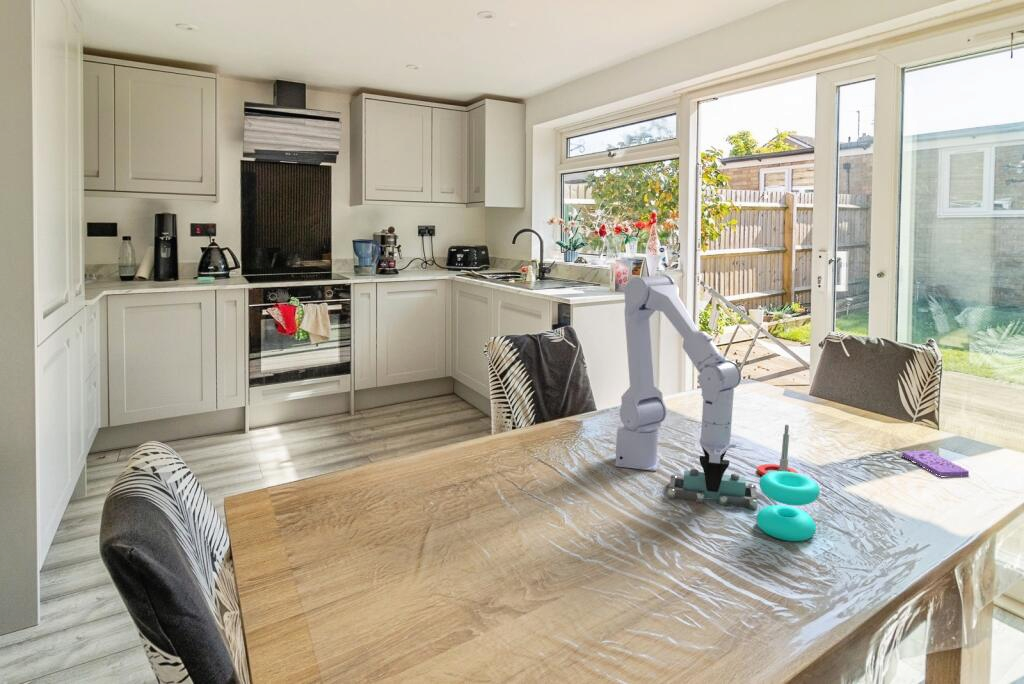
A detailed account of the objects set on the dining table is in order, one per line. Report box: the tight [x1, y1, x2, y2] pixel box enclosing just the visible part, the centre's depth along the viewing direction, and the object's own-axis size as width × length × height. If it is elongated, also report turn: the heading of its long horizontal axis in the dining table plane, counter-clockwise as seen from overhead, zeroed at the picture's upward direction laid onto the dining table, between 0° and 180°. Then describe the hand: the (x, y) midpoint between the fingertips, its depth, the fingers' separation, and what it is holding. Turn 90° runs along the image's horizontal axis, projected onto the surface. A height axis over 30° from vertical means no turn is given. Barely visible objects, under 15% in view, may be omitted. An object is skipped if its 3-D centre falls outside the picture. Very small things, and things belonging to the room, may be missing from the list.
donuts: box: [756, 470, 820, 542], centre depth 112 cm, size 10×10×10 cm
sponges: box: [901, 449, 970, 477], centre depth 143 cm, size 7×13×2 cm, turn 4°
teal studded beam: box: [682, 468, 747, 501], centre depth 127 cm, size 12×3×5 cm, turn 73°
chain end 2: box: [718, 483, 759, 511], centre depth 126 cm, size 7×9×2 cm
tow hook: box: [756, 424, 799, 477], centre depth 137 cm, size 8×13×9 cm
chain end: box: [667, 474, 706, 504], centre depth 129 cm, size 7×9×2 cm
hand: (712, 483), depth 127 cm, fingers open, 7 cm apart
